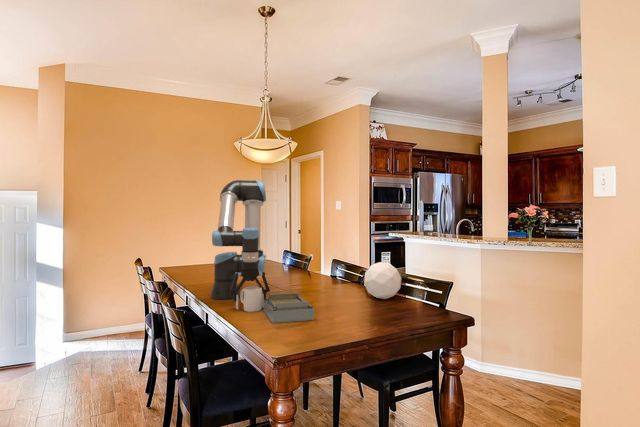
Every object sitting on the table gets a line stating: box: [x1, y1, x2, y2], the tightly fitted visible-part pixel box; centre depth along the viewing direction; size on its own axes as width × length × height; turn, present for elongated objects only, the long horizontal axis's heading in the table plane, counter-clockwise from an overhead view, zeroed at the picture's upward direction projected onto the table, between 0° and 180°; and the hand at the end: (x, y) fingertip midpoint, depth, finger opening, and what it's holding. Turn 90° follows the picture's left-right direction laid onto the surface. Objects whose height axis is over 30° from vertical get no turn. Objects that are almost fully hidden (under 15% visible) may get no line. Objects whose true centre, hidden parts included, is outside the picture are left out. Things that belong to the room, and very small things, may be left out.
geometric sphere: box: [363, 261, 402, 300], centre depth 210 cm, size 19×20×20 cm
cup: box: [239, 285, 263, 313], centre depth 184 cm, size 8×12×10 cm
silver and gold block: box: [263, 292, 315, 324], centre depth 175 cm, size 22×18×8 cm
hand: (249, 307), depth 184 cm, fingers open, 11 cm apart
